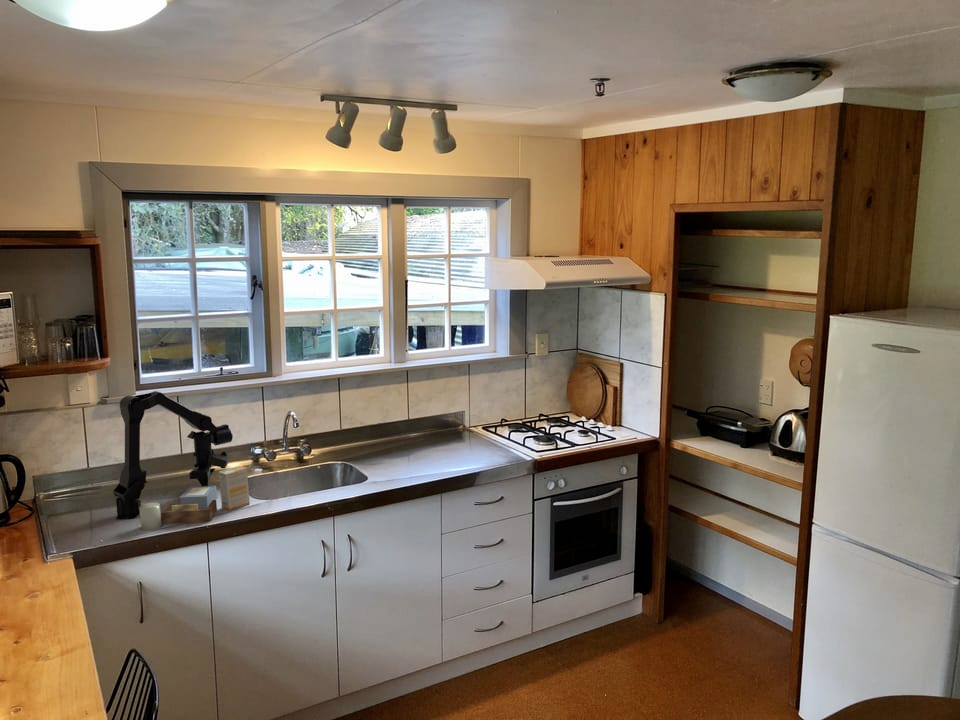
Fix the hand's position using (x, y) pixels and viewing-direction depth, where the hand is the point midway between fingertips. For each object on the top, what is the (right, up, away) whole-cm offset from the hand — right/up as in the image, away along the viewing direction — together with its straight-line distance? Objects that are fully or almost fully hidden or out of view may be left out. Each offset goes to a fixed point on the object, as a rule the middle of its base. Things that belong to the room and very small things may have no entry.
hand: (206, 490), depth 273 cm
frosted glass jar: (-7, -6, -30) cm, 32 cm away
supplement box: (+15, -3, -13) cm, 20 cm away
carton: (+1, -3, -11) cm, 11 cm away
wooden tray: (+3, -5, -23) cm, 24 cm away
